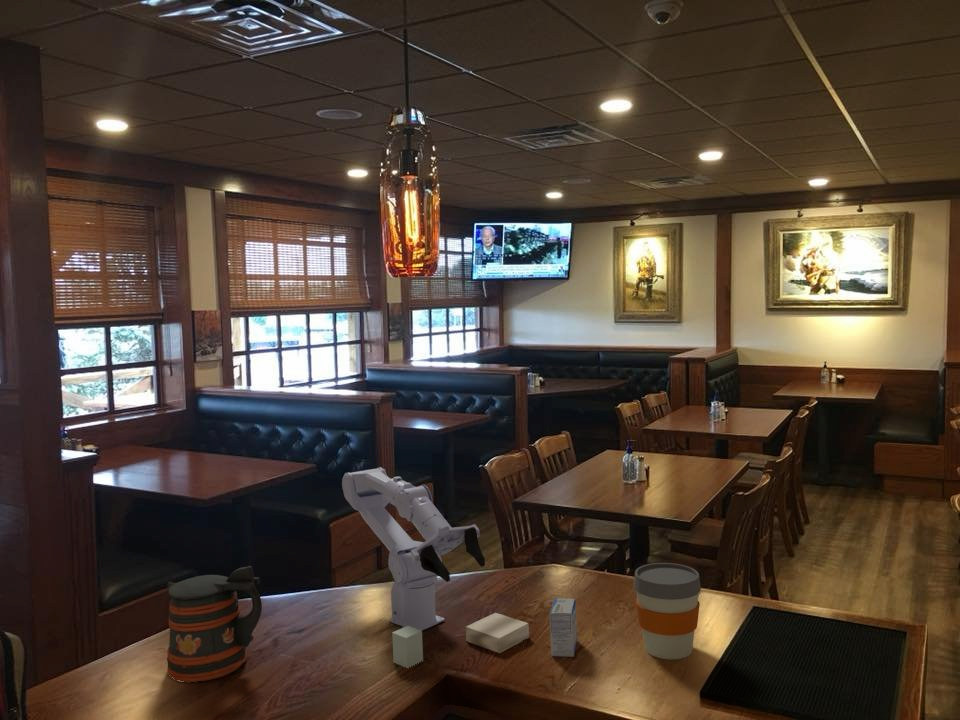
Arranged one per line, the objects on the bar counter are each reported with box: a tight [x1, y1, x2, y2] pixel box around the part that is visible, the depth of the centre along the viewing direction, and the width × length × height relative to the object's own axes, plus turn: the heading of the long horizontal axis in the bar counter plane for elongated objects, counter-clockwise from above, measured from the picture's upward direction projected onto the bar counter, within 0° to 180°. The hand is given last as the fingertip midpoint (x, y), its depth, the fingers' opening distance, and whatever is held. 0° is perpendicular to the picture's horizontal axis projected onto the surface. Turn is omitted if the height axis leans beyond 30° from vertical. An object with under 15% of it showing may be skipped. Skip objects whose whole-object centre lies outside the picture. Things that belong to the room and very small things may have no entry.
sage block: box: [391, 626, 424, 669], centre depth 152 cm, size 4×4×6 cm
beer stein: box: [166, 565, 263, 683], centre depth 153 cm, size 19×15×20 cm
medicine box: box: [549, 597, 578, 658], centre depth 155 cm, size 8×4×9 cm, turn 168°
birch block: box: [465, 612, 530, 654], centre depth 161 cm, size 9×9×3 cm
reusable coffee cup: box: [633, 562, 702, 660], centre depth 153 cm, size 12×13×15 cm
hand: (465, 570), depth 152 cm, fingers open, 7 cm apart
